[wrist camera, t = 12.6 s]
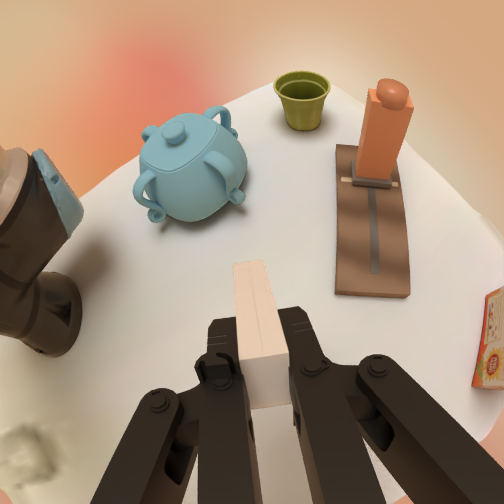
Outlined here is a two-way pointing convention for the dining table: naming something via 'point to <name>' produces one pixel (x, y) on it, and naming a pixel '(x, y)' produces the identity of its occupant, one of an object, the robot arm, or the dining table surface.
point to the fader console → (370, 235)
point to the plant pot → (302, 98)
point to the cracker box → (492, 344)
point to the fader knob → (382, 133)
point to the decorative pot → (190, 166)
